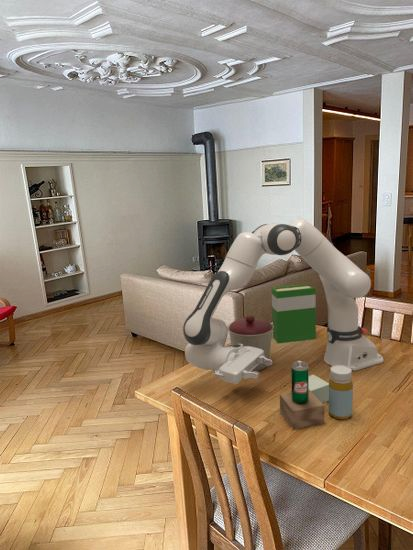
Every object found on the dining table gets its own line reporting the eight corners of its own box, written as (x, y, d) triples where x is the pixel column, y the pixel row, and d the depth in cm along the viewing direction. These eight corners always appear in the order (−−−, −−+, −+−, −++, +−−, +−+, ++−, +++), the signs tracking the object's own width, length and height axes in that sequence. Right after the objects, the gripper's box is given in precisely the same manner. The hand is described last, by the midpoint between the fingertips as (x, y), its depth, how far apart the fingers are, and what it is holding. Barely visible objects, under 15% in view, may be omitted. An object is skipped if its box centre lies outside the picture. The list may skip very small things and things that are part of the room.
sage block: (313, 390, 142) (313, 374, 141) (329, 400, 135) (330, 384, 134) (295, 397, 139) (294, 380, 137) (311, 407, 132) (311, 390, 130)
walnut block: (309, 406, 132) (309, 389, 131) (324, 423, 123) (324, 405, 121) (280, 411, 130) (279, 394, 129) (293, 429, 121) (292, 411, 120)
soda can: (294, 405, 122) (293, 368, 120) (290, 396, 127) (289, 361, 125) (310, 404, 123) (310, 367, 120) (306, 395, 128) (305, 359, 125)
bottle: (352, 409, 129) (353, 365, 126) (352, 421, 123) (353, 376, 119) (329, 406, 131) (329, 363, 128) (328, 418, 125) (328, 373, 122)
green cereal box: (309, 333, 192) (309, 283, 187) (315, 339, 185) (315, 287, 180) (273, 337, 190) (271, 287, 185) (278, 343, 183) (276, 291, 177)
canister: (225, 375, 157) (222, 323, 152) (233, 355, 174) (231, 307, 169) (272, 377, 153) (271, 324, 148) (276, 357, 170) (275, 308, 165)
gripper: (210, 364, 129) (249, 373, 121) (241, 341, 145) (277, 348, 138) (211, 383, 130) (250, 393, 123) (242, 358, 147) (278, 365, 139)
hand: (264, 369), depth 130 cm, fingers open, 8 cm apart
